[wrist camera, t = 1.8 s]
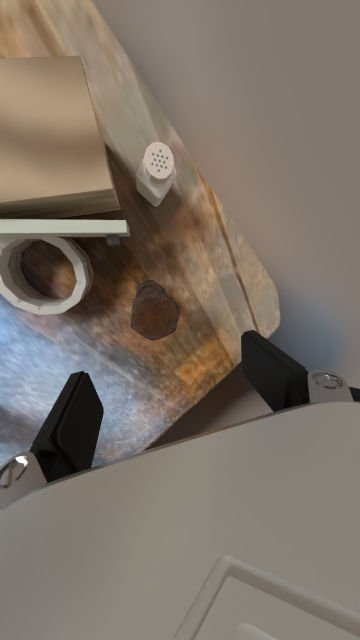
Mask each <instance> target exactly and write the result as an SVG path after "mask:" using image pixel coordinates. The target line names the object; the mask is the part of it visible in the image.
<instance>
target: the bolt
mask: <svg viewBox="0 0 360 640" xmlns="http://www.w3.org/2000/svg"><path fill="white" fill-rule="evenodd" d="M179 309H180V307H179V305H178V304H177V303H176V302H174V301H173V300H172V299H170V298H169V297H168V296H167V295H165V289H164V288H163V287H161V286H160V285H159V284H158V283H156V282H155V281H153V280H149V281H146V282H144V283H141V284H139V285H137V295H136V298H134V299H133V305H132V316H131V328H132V329H133V330H134V331H136V332H137V333H138V334H140V335H142V336H143V337H145V338H147V339H149V340H152V341H153V340H157V339H161V338H163V337H166V336H168V335H170V334H171V333H173V332H174V331H175V330H176V327H177V323H178V318H179Z"/></svg>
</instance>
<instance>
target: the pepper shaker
mask: <svg viewBox="0 0 360 640" xmlns="http://www.w3.org/2000/svg"><path fill="white" fill-rule="evenodd" d="M176 174H177V172H176V169H175V167H174V157H173V154H172V152H171V151H170V149H169V147H168V146H166V145H165V144H163V143H162V142H156V143H152V144H151V145H150V146H149V147H148V148H147V149H146V153H145V156H144V159H143V160H142V162H141V164H140V165H139V167H138V169H137V171H136V189H137V190H138V192H139V193H140V194H141V195H142V196H143V197H144V198H146V199H147V200H148V201H149V202H150V203H151V204H152V205H153V206H155V207H157V206H159V205H160V203H161V202H162V200H163V199H164V197H165V196H166V194H167V193H168V191H169V190H170V188H171V186H172V184H173V182H174V180H175V178H176Z"/></svg>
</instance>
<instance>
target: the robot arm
mask: <svg viewBox="0 0 360 640" xmlns="http://www.w3.org/2000/svg"><path fill="white" fill-rule="evenodd" d="M241 351H242V371H243V374H244V375H245V377H246V378H247V379H248V381H249V382H250V383H251V384H252V386H253V387H254V388H255V389H256V391H257V392H258V393H259V394H260V395H261V397H262V398H263V399H264V400H265V402H266V403H267V404H268V405H269V407H270V408H271V409H272V410H273V413H269V414H266V415H262V416H259V417H256V418H252V419H249V420H245V421H242V422H239V423H235V424H232V425H228V426H225V427H222V428H219V429H215V430H212V431H209V432H205V433H202V434H199V435H196V436H192V437H189V438H185V439H183V440H179V441H176V442H172V443H169V444H166V445H163V446H159V447H156V448H153V449H150V450H146V451H143V452H140V453H137V454H133V455H130V456H127V457H124V458H121V459H117V460H114V461H111V462H108V463H105V464H102V465H99V466H95V467H92V468H91V466H92V461H93V457H94V453H95V448H96V444H97V440H98V435H99V431H100V426H101V422H102V418H103V413H104V409H103V406H102V403H101V401H100V399H99V397H98V394H97V392H96V390H95V388H94V385H93V383H92V381H91V379H90V376H89V374H88V373H85V372H84V371H81V372H77V373H73V374H71V375H70V377H69V379H68V381H67V382H66V384H65V386H64V388H63V390H62V391H61V393H60V395H59V397H58V399H57V400H56V402H55V404H54V406H53V408H52V409H51V411H50V413H49V415H48V417H47V418H46V420H45V422H44V424H43V426H42V427H41V429H40V431H39V433H38V435H37V436H36V438H35V440H34V442H33V445H32V447H31V449H30V451H29V452H28V451H27V452H22V453H20V454H18V455H15V456H14V457H12V458H11V459H9V460H8V461H6V462H5V463H4V464H3V465H2V466H0V640H360V389H357V388H353V387H349V386H348V384H347V382H346V381H345V379H343V378H342V377H341V376H339V375H337V374H335V373H333V372H331V371H326V370H313V371H311V372H308V371H306V370H305V367H303V366H302V365H301V364H299V363H298V362H297V361H295V360H294V359H293V358H291V357H290V356H288V355H287V354H286V353H284V352H283V351H281V350H280V349H279V348H277V347H276V346H275V345H273V344H272V343H271V342H269V341H268V340H267V339H265V338H264V337H263V336H261V335H260V334H258V333H257V332H256V331H254V330H251V331H246V332H244V333H243V335H242V336H241Z"/></svg>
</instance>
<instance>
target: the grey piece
mask: <svg viewBox="0 0 360 640" xmlns="http://www.w3.org/2000/svg"><path fill="white" fill-rule="evenodd" d="M63 237H106V241H107V245H120V239H119V237H130V230H129V226H128V224H127V222H126V220H35V219H0V293H1V294H2V295H3V296H4V297H5V298H6V299H7V300H8V301H9V302H11V303H12V304H13V305H14V306H15V305H16V307H18V308H21V309H24V310H27V311H29V312H32V313H35V314H38V315H39V314H40V315H45V314H58V313H63V312H65V311H66V310H68V309H69V308H71V307H72V306H74V305H75V304H77V303H78V302H80V301H81V300H82V299H83V297H84V295H85V292H86V290H87V287H88V285H89V281H90V279H89V274H88V269H87V264H86V261H85V259H84V258H83V257H82V255H81V254H80V253H79V252H78V250H77V249H76V248H75V247H74V245H73V244H72V243H71V242H70V241H69V240H67V239H65V238H63ZM26 239H42V240H44V241H46V242H48V243H50V244H52V245H54V246H56V247H58V248H60V249H61V251H62V252H63V253H64V254H65V255H66V256H67V258H68V259H69V260H70V261H71V262H72V264H73V266H74V271H75V275H76V280H77V283H76V286H75V288H74V291H73V293H72V296H71V297H70V298H68V299H67V300H65V301H64V302H55V303H44V302H41V301H39V300H36V299H33V298H31V297H28V296H27V295H26V294H25V293H24V292H23V291H22V290H21V289H20V288H19V287H18V286H17V285H15V284H14V282H13V279H12V277H11V274H10V271H9V268H8V262H9V258H10V255H11V251H12V249H13V248H14V247H16V246H17V245H19V244H20V243H22V242H23V241H25V240H26Z"/></svg>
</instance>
